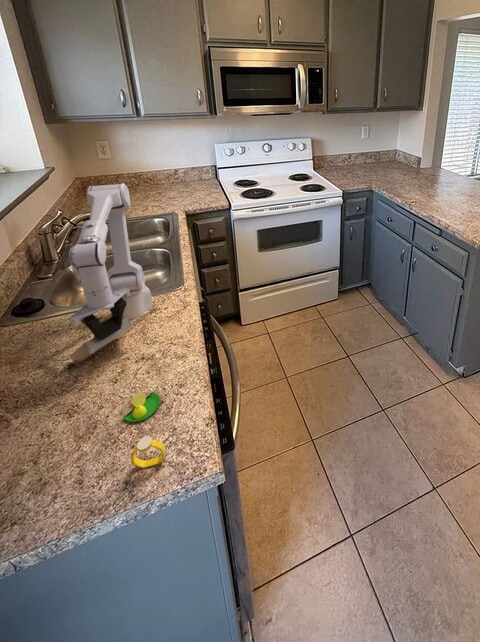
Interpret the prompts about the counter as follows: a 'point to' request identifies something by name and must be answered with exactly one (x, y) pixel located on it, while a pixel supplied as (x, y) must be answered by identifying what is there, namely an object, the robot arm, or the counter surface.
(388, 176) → the counter surface
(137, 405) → the green plate with lemons
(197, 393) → the counter surface
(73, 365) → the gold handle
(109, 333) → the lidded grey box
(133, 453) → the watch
